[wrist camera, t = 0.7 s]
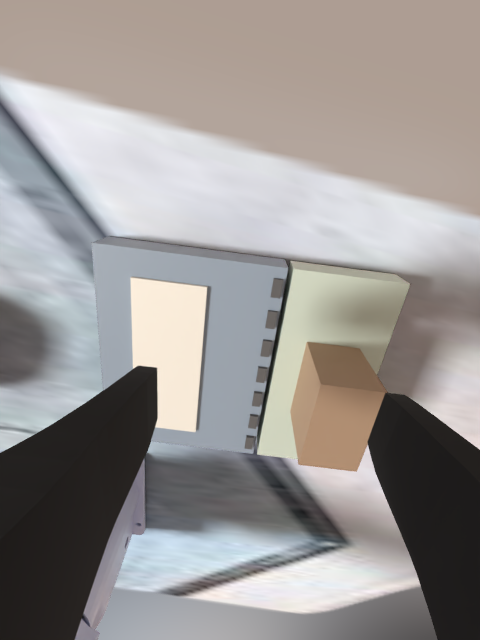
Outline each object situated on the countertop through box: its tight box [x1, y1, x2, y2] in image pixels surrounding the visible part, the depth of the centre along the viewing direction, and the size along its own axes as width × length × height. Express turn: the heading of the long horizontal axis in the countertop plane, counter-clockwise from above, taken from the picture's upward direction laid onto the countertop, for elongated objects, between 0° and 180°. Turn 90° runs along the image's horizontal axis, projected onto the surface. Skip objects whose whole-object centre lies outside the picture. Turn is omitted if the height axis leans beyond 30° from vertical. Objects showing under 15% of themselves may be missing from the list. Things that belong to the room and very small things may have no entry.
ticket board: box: [92, 236, 288, 454], centre depth 19 cm, size 13×10×2 cm
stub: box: [257, 261, 410, 472], centre depth 17 cm, size 13×6×6 cm, turn 173°
